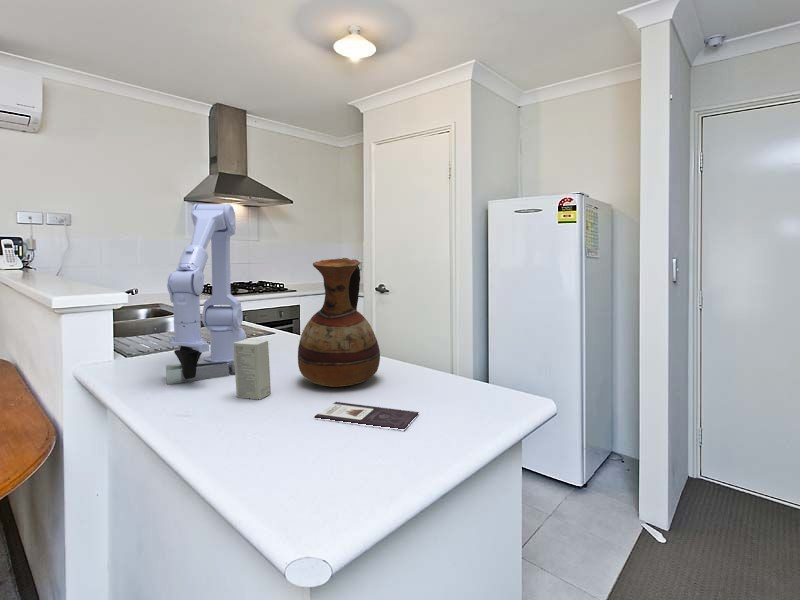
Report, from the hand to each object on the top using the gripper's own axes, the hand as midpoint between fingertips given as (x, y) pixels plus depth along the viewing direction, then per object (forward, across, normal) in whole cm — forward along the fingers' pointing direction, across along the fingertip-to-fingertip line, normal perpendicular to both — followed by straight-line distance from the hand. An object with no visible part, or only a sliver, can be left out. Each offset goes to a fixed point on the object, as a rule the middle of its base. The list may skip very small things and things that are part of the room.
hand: (189, 377), depth 111 cm
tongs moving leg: (+1, -1, +3) cm, 3 cm away
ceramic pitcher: (+1, +27, +23) cm, 36 cm away
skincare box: (+1, +20, +3) cm, 21 cm away
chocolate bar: (+2, +48, +9) cm, 49 cm away
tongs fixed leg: (+1, -3, +6) cm, 6 cm away
